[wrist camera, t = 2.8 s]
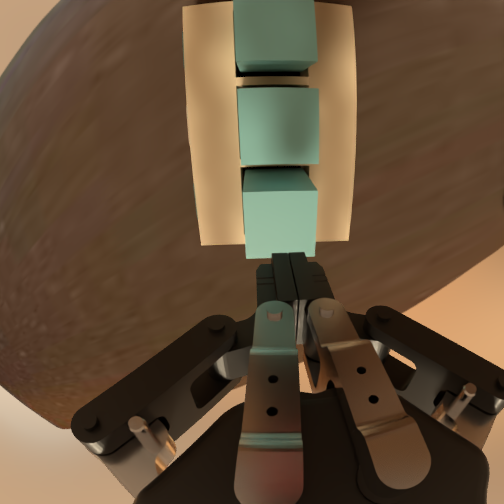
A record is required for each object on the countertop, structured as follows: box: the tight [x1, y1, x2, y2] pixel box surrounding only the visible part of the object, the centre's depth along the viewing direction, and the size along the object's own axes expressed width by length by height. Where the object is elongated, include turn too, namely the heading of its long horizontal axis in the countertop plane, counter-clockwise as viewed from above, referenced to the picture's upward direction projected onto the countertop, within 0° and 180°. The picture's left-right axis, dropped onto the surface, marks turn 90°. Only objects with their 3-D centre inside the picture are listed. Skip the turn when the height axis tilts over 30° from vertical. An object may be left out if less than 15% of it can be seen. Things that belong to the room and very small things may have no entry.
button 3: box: [243, 168, 318, 259], centre depth 20 cm, size 4×4×6 cm
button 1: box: [233, 0, 318, 73], centre depth 15 cm, size 4×4×6 cm
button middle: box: [237, 87, 319, 165], centre depth 17 cm, size 4×4×6 cm
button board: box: [182, 1, 357, 245], centre depth 21 cm, size 12×19×4 cm, turn 2°
